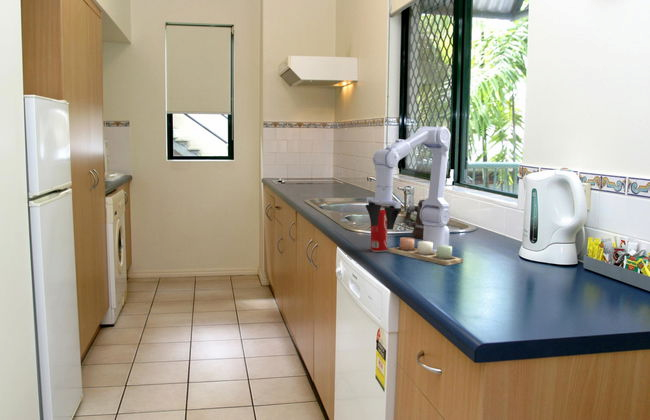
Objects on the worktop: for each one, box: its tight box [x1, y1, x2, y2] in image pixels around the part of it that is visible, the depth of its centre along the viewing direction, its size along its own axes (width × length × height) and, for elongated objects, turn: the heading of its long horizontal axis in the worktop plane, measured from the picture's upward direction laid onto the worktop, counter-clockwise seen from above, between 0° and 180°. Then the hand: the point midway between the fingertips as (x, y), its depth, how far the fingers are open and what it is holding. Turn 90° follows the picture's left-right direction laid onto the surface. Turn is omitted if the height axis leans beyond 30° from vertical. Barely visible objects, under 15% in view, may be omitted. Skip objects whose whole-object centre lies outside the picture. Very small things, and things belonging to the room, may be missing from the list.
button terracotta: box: [399, 236, 416, 250], centre depth 213 cm, size 5×5×4 cm
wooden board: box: [387, 246, 464, 266], centre depth 207 cm, size 9×25×1 cm, turn 41°
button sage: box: [435, 245, 453, 258], centre depth 201 cm, size 5×5×4 cm
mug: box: [403, 199, 438, 240], centre depth 246 cm, size 16×12×15 cm
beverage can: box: [370, 207, 388, 253], centre depth 214 cm, size 6×6×15 cm
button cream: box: [417, 240, 433, 254], centre depth 207 cm, size 5×5×4 cm
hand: (382, 227), depth 203 cm, fingers open, 7 cm apart
